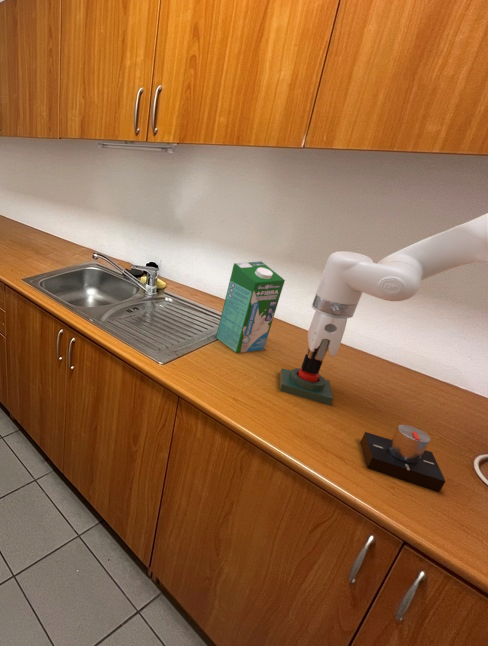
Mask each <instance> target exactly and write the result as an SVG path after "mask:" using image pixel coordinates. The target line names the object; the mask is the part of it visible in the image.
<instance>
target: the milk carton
mask: <svg viewBox="0 0 488 646" xmlns="http://www.w3.org/2000/svg"><path fill="white" fill-rule="evenodd" d="M285 281H286V279H284V278H283V277H282V276H280V275H279V274H278V273H277V272H275V271H274V270H273V269H272V268H271V267H269V266H268V265H267V264H265V262H263V261H249V262H237V263H235V262H234V263H233V266H232V269H231V274H230V278H229V282H228V286H227V291H226V295H225V298H224V302H223V307H222V311H221V315H220V320H219V323H218V327H217V331H216V335H215V338H216V339H218V340H219V341H220V342H222V343H223V344H224V345H225V346H227V347H228V348H229V349H230V350H231V351H234V352H235V353H236V354H239V353H248V352H258V351H264V350H265V347H266V344H267V340H268V338H269V334H270V331H271V328H272V324H273V321H274V317H275V314H276V311H277V308H278V304H279V301H280V298H281V295H282V292H283V288H284V285H285Z"/></svg>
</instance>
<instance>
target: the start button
mask: <svg viewBox="0 0 488 646" xmlns="http://www.w3.org/2000/svg"><path fill="white" fill-rule="evenodd" d="M299 368H300V370H299V373H298V376H299V377H300V378H302V379H304V380H306V381H309V382H317V381H318V379H319V376H320V375H321V374H320V372H318V374H314V373H310V372H306V371H303V370H302V367H299Z"/></svg>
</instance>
